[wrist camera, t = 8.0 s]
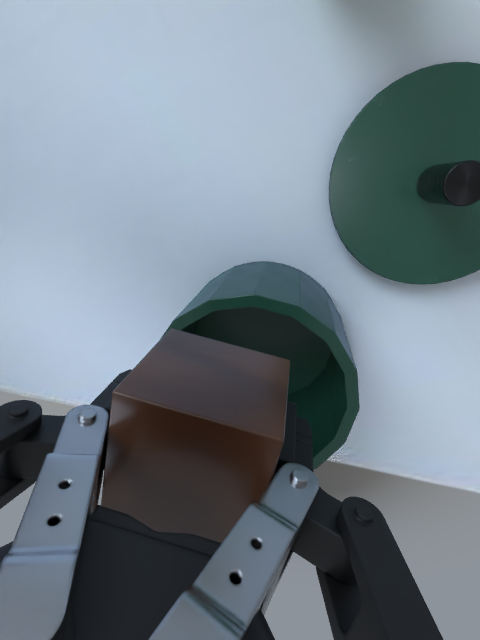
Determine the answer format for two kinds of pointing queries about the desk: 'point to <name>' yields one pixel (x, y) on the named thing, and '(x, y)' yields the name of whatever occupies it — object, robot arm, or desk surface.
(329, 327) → the canister
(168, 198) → the desk surface
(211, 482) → the block
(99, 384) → the desk surface
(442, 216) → the lid
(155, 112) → the desk surface
